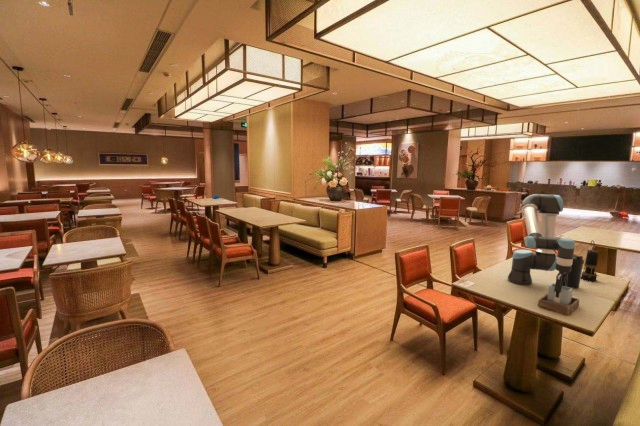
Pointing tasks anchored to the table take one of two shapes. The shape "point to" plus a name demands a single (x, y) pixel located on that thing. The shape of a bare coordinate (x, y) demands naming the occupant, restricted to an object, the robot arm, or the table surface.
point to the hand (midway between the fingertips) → (559, 300)
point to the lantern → (590, 265)
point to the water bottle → (575, 272)
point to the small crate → (565, 294)
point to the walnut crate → (558, 305)
